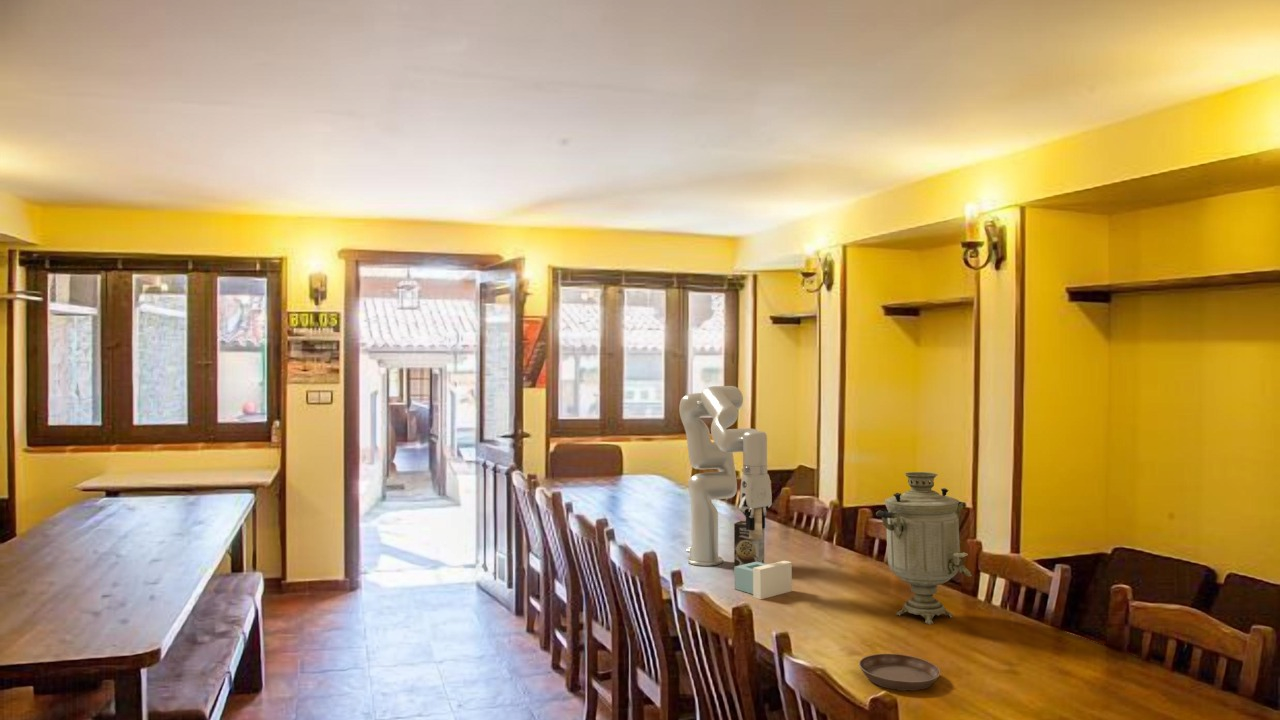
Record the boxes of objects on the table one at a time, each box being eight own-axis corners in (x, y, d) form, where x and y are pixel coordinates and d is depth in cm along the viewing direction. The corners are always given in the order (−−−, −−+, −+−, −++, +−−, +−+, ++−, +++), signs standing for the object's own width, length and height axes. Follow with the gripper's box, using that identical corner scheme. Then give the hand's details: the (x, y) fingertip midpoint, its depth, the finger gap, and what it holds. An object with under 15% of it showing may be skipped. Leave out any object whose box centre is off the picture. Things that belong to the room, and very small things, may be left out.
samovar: (907, 638, 225) (907, 484, 224) (856, 609, 250) (855, 471, 250) (1005, 628, 233) (1005, 479, 232) (946, 601, 258) (945, 467, 257)
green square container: (734, 588, 273) (734, 566, 272) (756, 583, 279) (756, 561, 279) (757, 595, 265) (757, 572, 265) (780, 589, 271) (780, 567, 271)
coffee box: (733, 570, 296) (733, 523, 296) (740, 566, 302) (740, 520, 301) (758, 573, 292) (758, 525, 291) (765, 569, 297) (765, 522, 297)
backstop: (753, 597, 263) (753, 567, 263) (784, 589, 272) (784, 560, 272) (760, 599, 261) (760, 569, 261) (791, 591, 270) (791, 562, 270)
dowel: (746, 538, 272) (746, 506, 272) (755, 536, 275) (755, 504, 275) (755, 540, 269) (755, 508, 269) (764, 538, 272) (764, 506, 272)
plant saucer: (923, 665, 206) (923, 652, 206) (952, 694, 189) (952, 680, 189) (850, 666, 206) (849, 653, 206) (872, 695, 188) (872, 681, 188)
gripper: (744, 474, 264) (745, 534, 264) (782, 469, 274) (782, 527, 274) (727, 471, 270) (727, 530, 270) (764, 467, 280) (765, 523, 280)
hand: (755, 528), depth 272 cm, fingers closed on dowel, 4 cm apart
